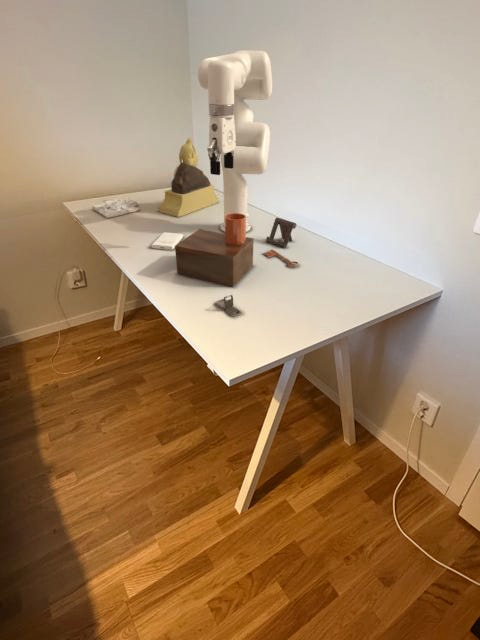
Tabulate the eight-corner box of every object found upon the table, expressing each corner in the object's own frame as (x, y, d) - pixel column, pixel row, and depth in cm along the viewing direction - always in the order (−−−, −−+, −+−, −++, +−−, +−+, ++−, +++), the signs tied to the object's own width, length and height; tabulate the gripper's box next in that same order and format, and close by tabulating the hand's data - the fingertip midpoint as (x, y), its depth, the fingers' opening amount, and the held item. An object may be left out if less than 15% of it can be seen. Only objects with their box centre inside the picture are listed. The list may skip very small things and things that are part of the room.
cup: (230, 235, 126) (230, 212, 122) (248, 239, 124) (249, 214, 120) (221, 242, 121) (221, 218, 117) (240, 246, 119) (241, 221, 115)
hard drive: (183, 237, 151) (172, 250, 141) (163, 236, 152) (151, 248, 142) (183, 233, 150) (172, 246, 140) (163, 232, 151) (151, 244, 141)
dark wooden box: (200, 255, 137) (199, 228, 131) (252, 266, 130) (253, 238, 125) (177, 274, 125) (174, 245, 119) (233, 287, 118) (233, 257, 113)
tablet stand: (265, 242, 148) (266, 221, 143) (278, 236, 153) (279, 216, 148) (283, 248, 143) (285, 226, 138) (296, 242, 148) (298, 221, 143)
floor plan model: (120, 197, 194) (119, 193, 193) (145, 209, 178) (144, 205, 177) (84, 204, 184) (83, 200, 183) (107, 218, 168) (106, 213, 167)
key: (262, 254, 139) (286, 270, 128) (262, 251, 139) (286, 267, 128) (276, 249, 141) (300, 265, 130) (276, 247, 141) (300, 263, 130)
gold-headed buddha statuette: (198, 197, 196) (195, 132, 179) (218, 202, 190) (216, 135, 173) (158, 211, 177) (150, 140, 160) (178, 217, 171) (172, 143, 154)
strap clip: (215, 304, 110) (214, 291, 107) (224, 300, 111) (223, 288, 109) (232, 317, 104) (232, 304, 102) (241, 313, 106) (241, 300, 103)
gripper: (219, 114, 106) (220, 178, 116) (244, 109, 120) (243, 167, 129) (196, 113, 109) (199, 175, 118) (222, 108, 122) (223, 164, 132)
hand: (222, 171), depth 124 cm, fingers open, 9 cm apart
